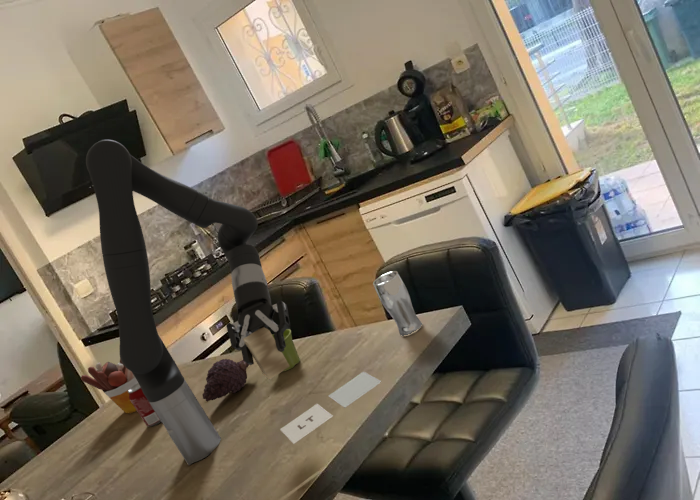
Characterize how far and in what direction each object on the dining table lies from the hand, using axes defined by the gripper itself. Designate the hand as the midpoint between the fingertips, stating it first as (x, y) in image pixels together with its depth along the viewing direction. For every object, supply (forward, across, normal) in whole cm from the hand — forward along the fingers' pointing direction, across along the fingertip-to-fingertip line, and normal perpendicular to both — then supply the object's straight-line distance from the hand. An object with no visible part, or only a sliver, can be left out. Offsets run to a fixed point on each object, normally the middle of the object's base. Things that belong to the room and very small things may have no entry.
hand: (265, 357), depth 138 cm
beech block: (+2, 0, +4) cm, 5 cm away
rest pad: (+7, +11, +19) cm, 23 cm away
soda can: (-14, -54, +40) cm, 69 cm away
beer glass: (-6, +25, +33) cm, 42 cm away
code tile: (+12, 0, +14) cm, 18 cm away
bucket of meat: (-28, -68, +54) cm, 92 cm away
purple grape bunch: (-12, -28, +38) cm, 49 cm away
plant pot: (-14, -11, +40) cm, 44 cm away
